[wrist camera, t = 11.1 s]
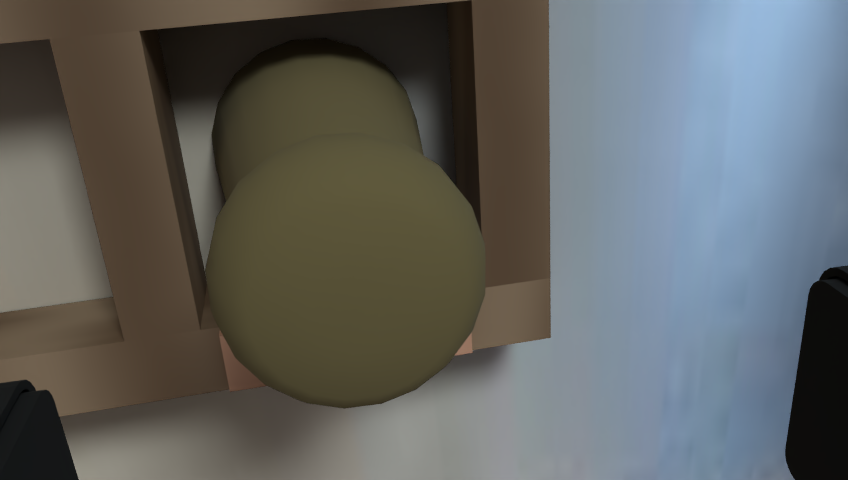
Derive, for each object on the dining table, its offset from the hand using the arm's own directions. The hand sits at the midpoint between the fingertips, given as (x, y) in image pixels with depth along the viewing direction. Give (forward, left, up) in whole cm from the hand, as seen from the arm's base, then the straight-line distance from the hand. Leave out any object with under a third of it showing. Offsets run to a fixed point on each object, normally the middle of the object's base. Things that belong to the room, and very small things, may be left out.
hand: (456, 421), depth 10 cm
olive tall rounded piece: (+1, 0, -15) cm, 15 cm away
